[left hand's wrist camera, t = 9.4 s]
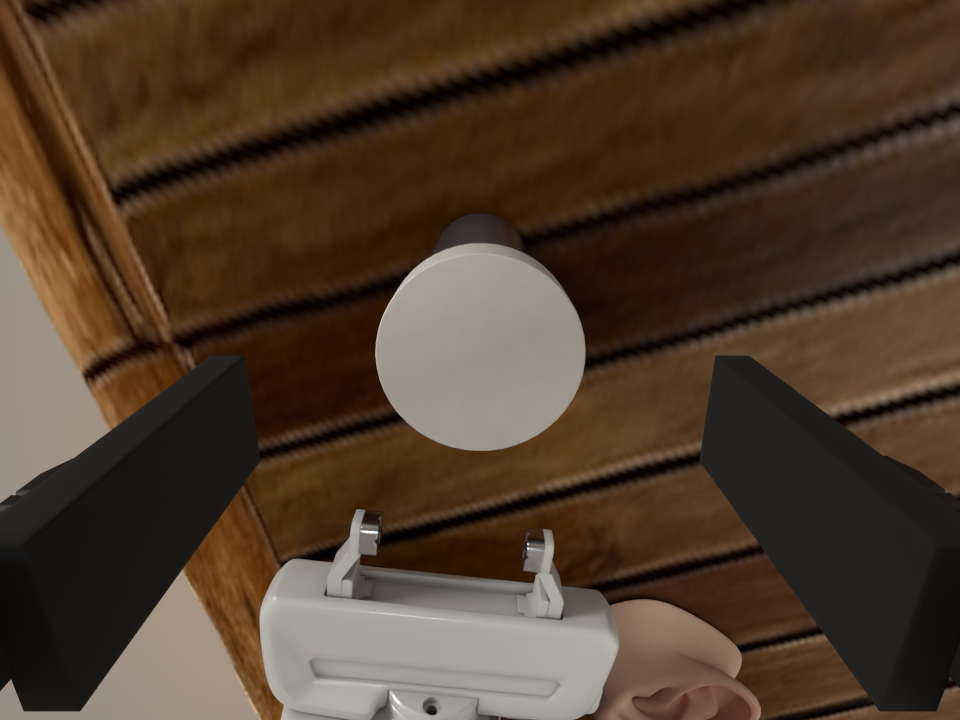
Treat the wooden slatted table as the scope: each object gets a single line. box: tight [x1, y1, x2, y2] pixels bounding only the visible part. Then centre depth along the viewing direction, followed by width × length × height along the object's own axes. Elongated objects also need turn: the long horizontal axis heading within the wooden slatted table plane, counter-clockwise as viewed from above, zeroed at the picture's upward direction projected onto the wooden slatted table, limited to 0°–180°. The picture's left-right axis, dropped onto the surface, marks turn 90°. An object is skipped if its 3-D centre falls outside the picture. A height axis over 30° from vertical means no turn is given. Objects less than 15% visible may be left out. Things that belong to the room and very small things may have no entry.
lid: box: [376, 243, 585, 451], centre depth 17 cm, size 6×6×2 cm
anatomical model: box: [593, 599, 761, 720], centre depth 39 cm, size 13×4×12 cm
